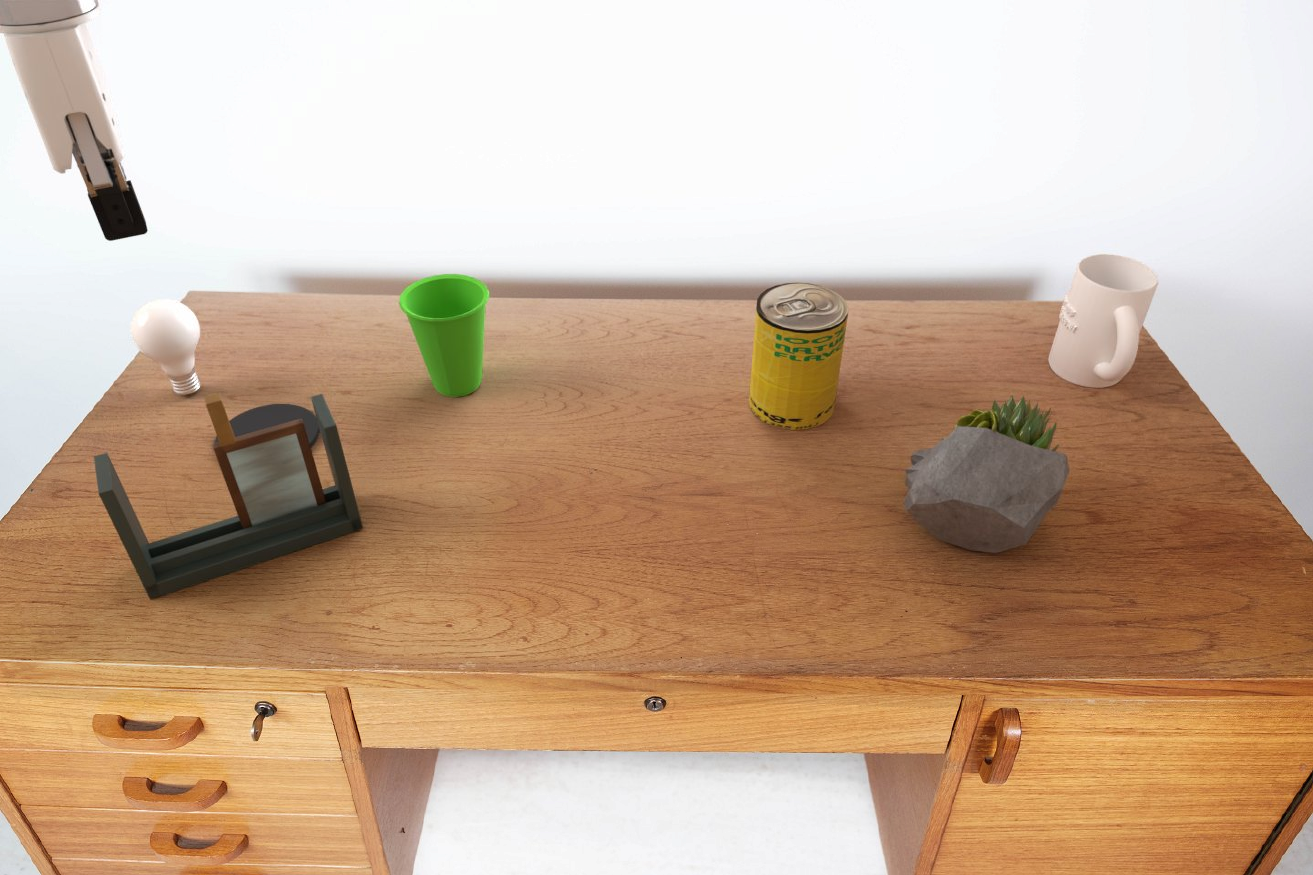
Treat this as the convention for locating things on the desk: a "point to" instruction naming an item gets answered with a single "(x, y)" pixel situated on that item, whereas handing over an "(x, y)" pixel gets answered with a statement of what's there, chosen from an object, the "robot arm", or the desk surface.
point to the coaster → (274, 420)
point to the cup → (449, 329)
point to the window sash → (265, 468)
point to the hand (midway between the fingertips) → (126, 232)
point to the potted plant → (988, 479)
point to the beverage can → (797, 355)
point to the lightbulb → (169, 340)
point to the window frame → (231, 526)
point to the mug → (1102, 320)
